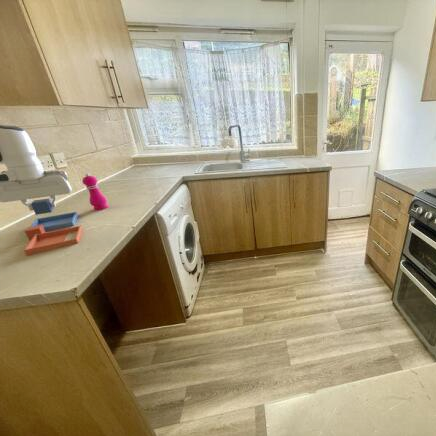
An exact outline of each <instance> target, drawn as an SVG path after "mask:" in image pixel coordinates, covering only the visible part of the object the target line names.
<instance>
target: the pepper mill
mask: <svg viewBox="0 0 436 436" xmlns="http://www.w3.org/2000/svg"><path fill="white" fill-rule="evenodd" d="M84 175H85V176H84V177H83V178H82V184H83V185H84V186H85V188H86V190H88V192H89V204H90V205H91V206H92V208H93V211H96V210H97V211H103V210H105V209H108V208H109V206H108V204H107V201H108V200H107V198H106V197H105V196H104V195H103V194H102V193H101V191H100V190H99V185H98V179H97V178H96V177H95V176H93V175H91V174H90V173H89V172H86V173H85V174H84Z"/></svg>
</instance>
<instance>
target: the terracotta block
mask: <svg viewBox="0 0 436 436" xmlns="http://www.w3.org/2000/svg"><path fill="white" fill-rule="evenodd" d="M24 233H25V234H26V236H27V238H28V240H29V241H31V239H32V238H33V237H34V235H36V234H41V233H46V232H45V230H44V228H43V226H42V225H37V226H32V227H30V226H28V227H26V229H25V230H24Z"/></svg>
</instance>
